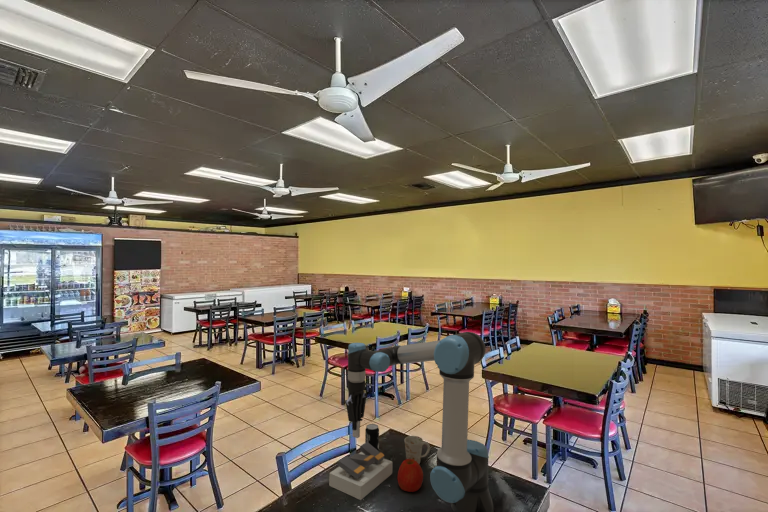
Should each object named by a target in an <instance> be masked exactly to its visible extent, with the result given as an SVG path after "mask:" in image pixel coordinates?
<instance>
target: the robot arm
mask: <svg viewBox="0 0 768 512" xmlns="http://www.w3.org/2000/svg"><path fill="white" fill-rule="evenodd" d="M366 346H367V345H366V344H365V343H363V342H353V343H350V344H348V346H347V347H348V348H347V349H348V350H347V380H348V381H347V390H348V391H349V393H348V398H347V399H346V400H344V404H345V406H346V412H347V419H348V421H349V422H351V423H352V424H351V428H352V437H353V438H356V439H359V438H360V437H361V435H360V434H361V422H362V421H363V418H364V416H365V409H366V403H367V402H366V401H367V397H368V393H367V392H365V390H366V376H367V375H366V374H367V373H366V369H367V370H369V371H373V372H375V373H376V372H377V373H384V372H386V371H387V370H388V369H389V367H391V366H395V365H405V364H410V363H412V364H413V363H414V364H415V363H425V362H434V363H435V365H437V368H438V369H439V372H438V373H439V375H440V377H441V378H442V379H443V386H442V387H443V390H442V393H443V395H442V421H441V423H442V424H441V447H440V448H439V449H438V450H437V451H436V463H435V466H434V467H433V468H432V470H431V471H430V474H429V481H430V484H431V487H432V489H433V491H434V492H435V494H436V495H437V496H438V497H439V498H440V499H441V500H442V501H444V502H446V503H449V504H450V507H451V509H452V511H453V512H494V502H493V499H492V496H491V492H490V490H489V458H490V457H489V451H488V448H487V446H486V445H485V444H484V443H482V442H479V441H477V440H473V439H468V433H469V430H468V429H469V428H468V427H469V400H470V399H469V398H470V397H469V396H470V394H469V393H470V382H471V381H472V380H473V379H474V378H475V365H476V364H478V363H480V362H481V361H482V360H483V358H484V357H485V356H486V355H485V354H486V343H485V342H484V340H483V338H482V337H481V336H480V335H478V333H476V332H473V331H464V332H460V333H457V334H451V335H448V336H445V337H444V338H441V339H440V340H434V341H433V340H432V341H425V342H424V341H423V342H418V343H410V344H404V345H403V344H402V345H392V346H391V347H387V348H383V349H378V350H368V349H367V347H366Z"/></svg>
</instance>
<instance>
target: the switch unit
mask: <svg viewBox="0 0 768 512" xmlns="http://www.w3.org/2000/svg"><path fill="white" fill-rule="evenodd" d="M358 454H363V455H365V454H364V453H363V452H361V451H360V452H359V453H358ZM360 466H363V465H360ZM363 467H364V468H365V471H364V474H363V475H362V476H360V477H359V478H358V479H356V478H355V477H353V476H352V475H350V474H349V473H348V472H346V471H345V470H344V469H342V468H341V467H339V466H337V467H336V468H334V469H333V470H332V471H330V472H329V474H328V475H329V478H328V479H329V481H328V483H329V487H331V488H334V489H335V490H338V491H340V492H343V493H344V494H347V495H348V496H351V497H353V498H355V499H357V500H360V501H362V500H363V499H365V497H366V496H367V495H369V494H370V493H372V492H373V491H374V490H375V489H376V488H377V487H378V486H380V484H382V483H383V482H384V481H386V480H387V479H388V478H389V477H390V476H391V475H393V461H392V460H389V459H387V458H384V459H383V460H382V461H381V462H380V463H378V464H376V463H375V462H374V463H372V464H371V465H370V466H363Z"/></svg>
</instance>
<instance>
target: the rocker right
mask: <svg viewBox="0 0 768 512" xmlns="http://www.w3.org/2000/svg"><path fill="white" fill-rule="evenodd" d="M359 451H360V452H363V453H364V454H365V455H369V456H370V455H374V456H375V463H376V464H378V463H380V462H381V461H382V460H383V459H385V453H383V452H381V451H380V450H379V451H378V450H377V449H375V448H374V447H373V446H372V445H370V444H369V443H368V442H366V443H365V442H364V443H363V444H361V445H360V447H359Z"/></svg>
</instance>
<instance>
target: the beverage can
mask: <svg viewBox="0 0 768 512" xmlns="http://www.w3.org/2000/svg"><path fill="white" fill-rule="evenodd" d="M364 439H365V441H364V443H366V442H368V443H369V444H370V445H372V446H373V447H374V448H375V449H377V450H378V451H379V452H380V428H379V425H378V424H376V423H370V424H367V425H366V428H365V438H364Z"/></svg>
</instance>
